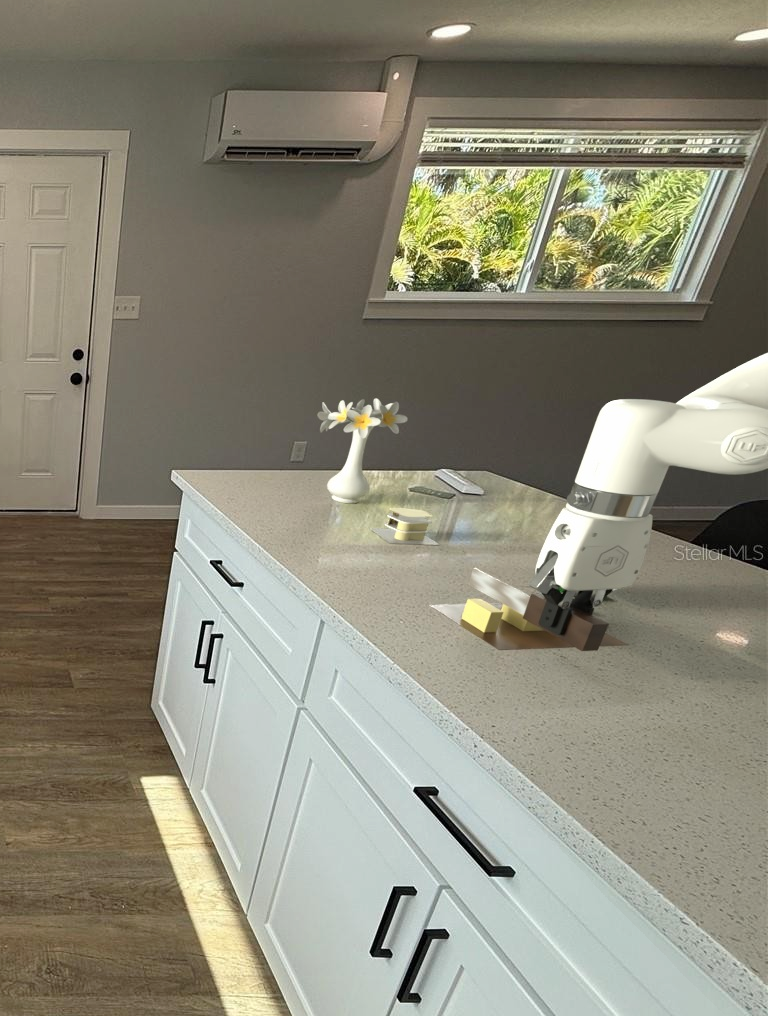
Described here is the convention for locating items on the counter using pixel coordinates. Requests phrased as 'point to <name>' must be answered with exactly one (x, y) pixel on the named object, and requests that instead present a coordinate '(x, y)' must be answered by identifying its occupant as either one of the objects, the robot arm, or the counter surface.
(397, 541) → the stacked layers on plate
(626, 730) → the counter surface
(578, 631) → the knife
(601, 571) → the robot arm
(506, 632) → the cutting board
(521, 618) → the butter stick
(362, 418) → the flower vase
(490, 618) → the butter pat
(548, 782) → the counter surface
